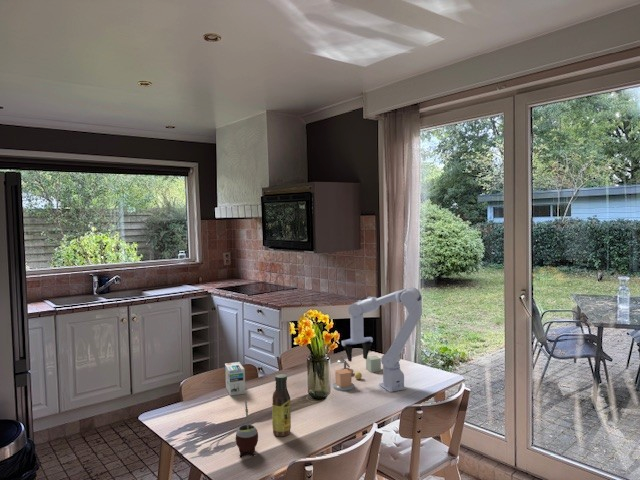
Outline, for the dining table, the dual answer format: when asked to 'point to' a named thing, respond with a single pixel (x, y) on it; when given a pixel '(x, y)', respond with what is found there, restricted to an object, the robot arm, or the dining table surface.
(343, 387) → the saucer
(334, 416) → the dining table surface
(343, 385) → the peach matte cube
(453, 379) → the dining table surface
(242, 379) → the light bulb box
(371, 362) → the sage green cube
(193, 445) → the dining table surface
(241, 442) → the mate gourd
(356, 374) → the ball
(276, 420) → the sauce bottle
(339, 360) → the balance
